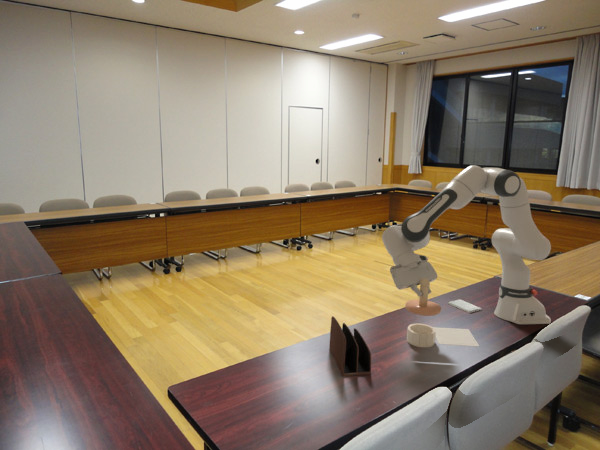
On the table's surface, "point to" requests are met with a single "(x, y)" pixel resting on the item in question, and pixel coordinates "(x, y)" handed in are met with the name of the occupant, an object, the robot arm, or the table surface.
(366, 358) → the letter holder
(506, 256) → the robot arm
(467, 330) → the mat
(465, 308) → the hard drive
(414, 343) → the bowl
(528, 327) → the table surface
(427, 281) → the salmon dome
